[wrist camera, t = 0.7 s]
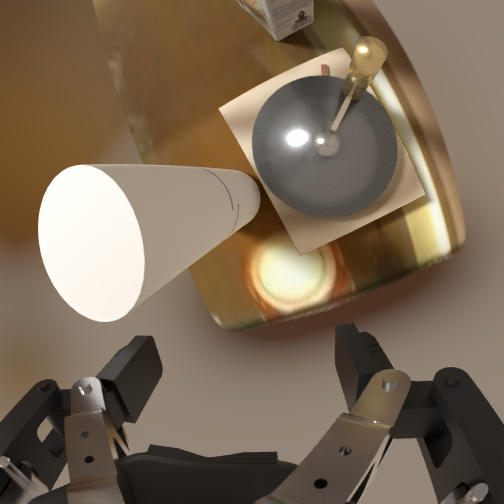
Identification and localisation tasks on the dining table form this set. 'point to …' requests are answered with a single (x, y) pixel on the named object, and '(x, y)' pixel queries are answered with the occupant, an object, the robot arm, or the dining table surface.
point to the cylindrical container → (135, 229)
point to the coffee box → (280, 15)
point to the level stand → (297, 223)
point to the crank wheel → (328, 139)
